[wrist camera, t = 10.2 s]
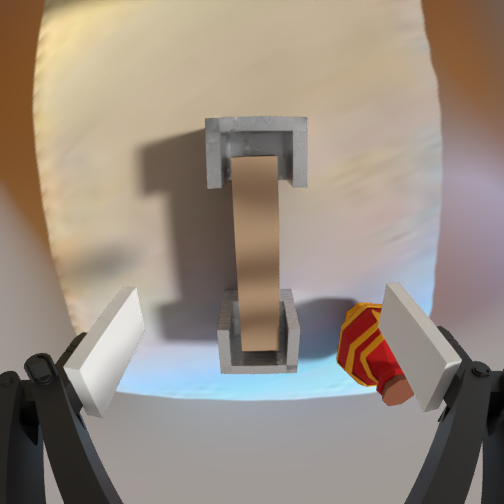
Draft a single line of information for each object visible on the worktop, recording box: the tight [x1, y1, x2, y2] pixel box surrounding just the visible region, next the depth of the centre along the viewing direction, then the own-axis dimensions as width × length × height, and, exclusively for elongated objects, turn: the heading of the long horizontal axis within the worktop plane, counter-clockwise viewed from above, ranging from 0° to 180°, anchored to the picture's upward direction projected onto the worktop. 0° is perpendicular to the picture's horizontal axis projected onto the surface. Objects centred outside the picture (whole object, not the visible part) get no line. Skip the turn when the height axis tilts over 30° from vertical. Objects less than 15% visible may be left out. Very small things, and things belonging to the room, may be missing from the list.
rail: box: [231, 155, 279, 351], centre depth 31 cm, size 20×4×5 cm, turn 2°
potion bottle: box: [336, 303, 414, 406], centre depth 33 cm, size 10×10×15 cm
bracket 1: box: [205, 116, 307, 189], centre depth 28 cm, size 6×8×9 cm
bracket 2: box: [217, 289, 300, 374], centre depth 35 cm, size 6×8×9 cm
